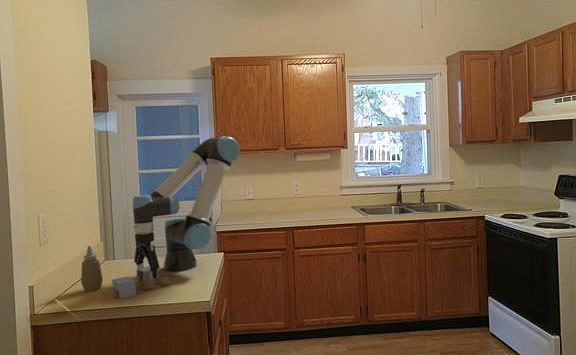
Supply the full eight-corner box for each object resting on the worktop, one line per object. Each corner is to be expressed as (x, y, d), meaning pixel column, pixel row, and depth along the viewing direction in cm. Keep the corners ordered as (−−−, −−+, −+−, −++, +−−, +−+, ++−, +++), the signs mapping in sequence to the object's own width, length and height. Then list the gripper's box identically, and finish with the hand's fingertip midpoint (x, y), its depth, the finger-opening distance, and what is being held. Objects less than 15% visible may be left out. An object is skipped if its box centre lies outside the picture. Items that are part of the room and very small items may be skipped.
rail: (167, 284, 188) (166, 276, 188) (170, 286, 186) (169, 277, 186) (112, 298, 174) (112, 289, 174) (115, 299, 172) (114, 290, 171)
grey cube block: (151, 279, 198) (150, 266, 197) (158, 283, 192) (157, 268, 191) (136, 283, 193) (135, 269, 193) (143, 286, 188) (142, 272, 187)
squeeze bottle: (80, 294, 181) (76, 249, 180) (83, 288, 189) (80, 245, 188) (102, 291, 183) (98, 247, 182) (104, 286, 191) (101, 243, 190)
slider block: (120, 299, 171) (119, 283, 170) (113, 295, 176) (112, 279, 176) (137, 294, 175) (136, 279, 175) (130, 290, 181) (129, 275, 180)
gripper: (124, 230, 199) (127, 279, 200) (147, 237, 179) (151, 290, 181) (141, 228, 203) (144, 275, 205) (165, 234, 184) (169, 286, 185)
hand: (147, 282), depth 193 cm, fingers open, 13 cm apart
